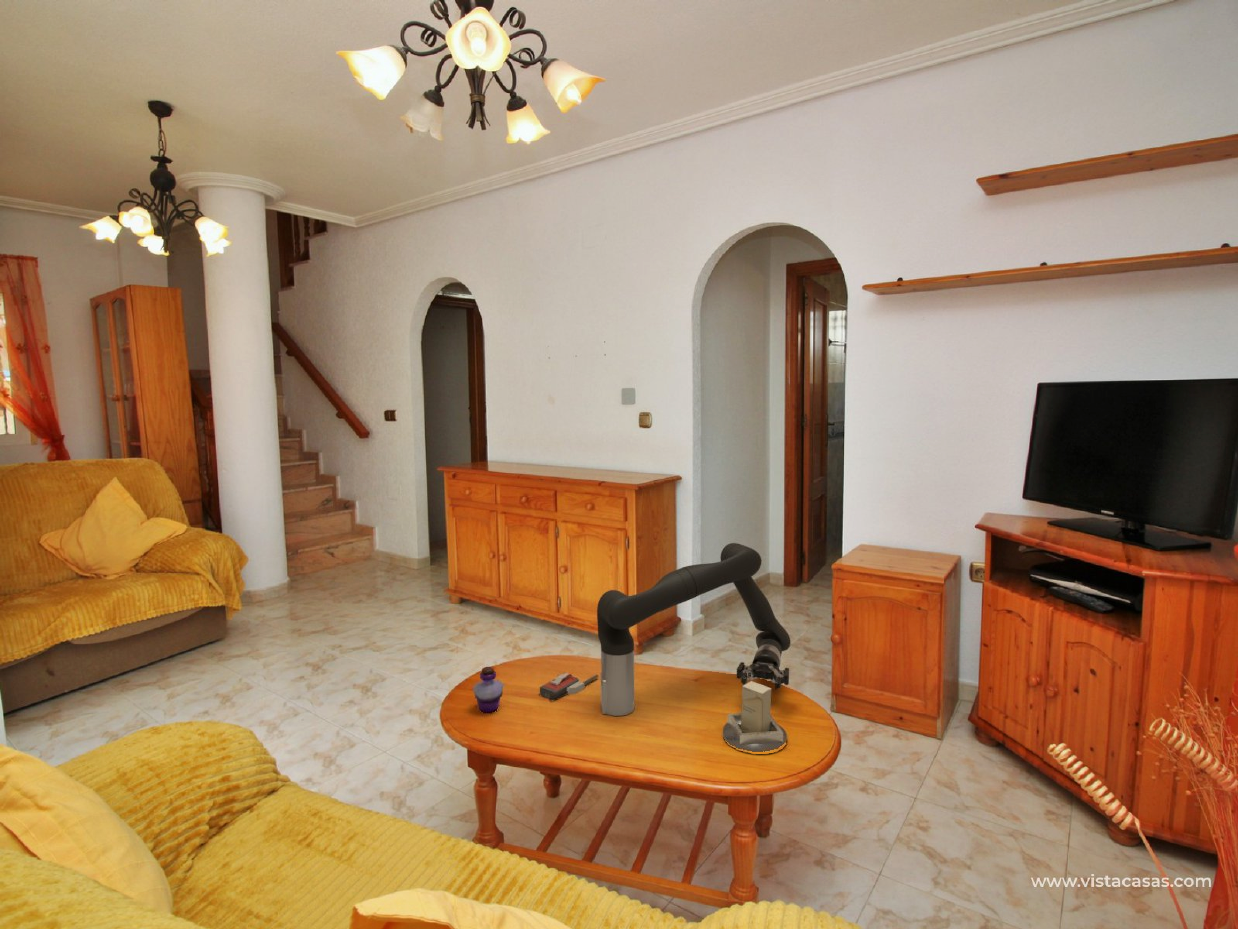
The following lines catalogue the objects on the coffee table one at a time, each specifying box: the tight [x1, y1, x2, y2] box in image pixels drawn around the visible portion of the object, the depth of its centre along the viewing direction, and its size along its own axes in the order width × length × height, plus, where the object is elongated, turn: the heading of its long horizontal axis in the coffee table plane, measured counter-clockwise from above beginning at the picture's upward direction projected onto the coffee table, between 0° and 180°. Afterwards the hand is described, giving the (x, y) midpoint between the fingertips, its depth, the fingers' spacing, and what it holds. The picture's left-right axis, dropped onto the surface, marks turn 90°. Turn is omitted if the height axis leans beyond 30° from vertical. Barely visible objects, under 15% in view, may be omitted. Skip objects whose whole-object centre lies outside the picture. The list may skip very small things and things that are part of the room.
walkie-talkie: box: [539, 672, 599, 701], centre depth 198 cm, size 9×4×20 cm
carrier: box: [722, 712, 788, 752], centre depth 168 cm, size 16×16×4 cm
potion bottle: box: [472, 666, 505, 714], centre depth 184 cm, size 9×9×12 cm
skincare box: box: [740, 680, 772, 733], centre depth 168 cm, size 6×4×12 cm
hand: (760, 684), depth 178 cm, fingers open, 8 cm apart
